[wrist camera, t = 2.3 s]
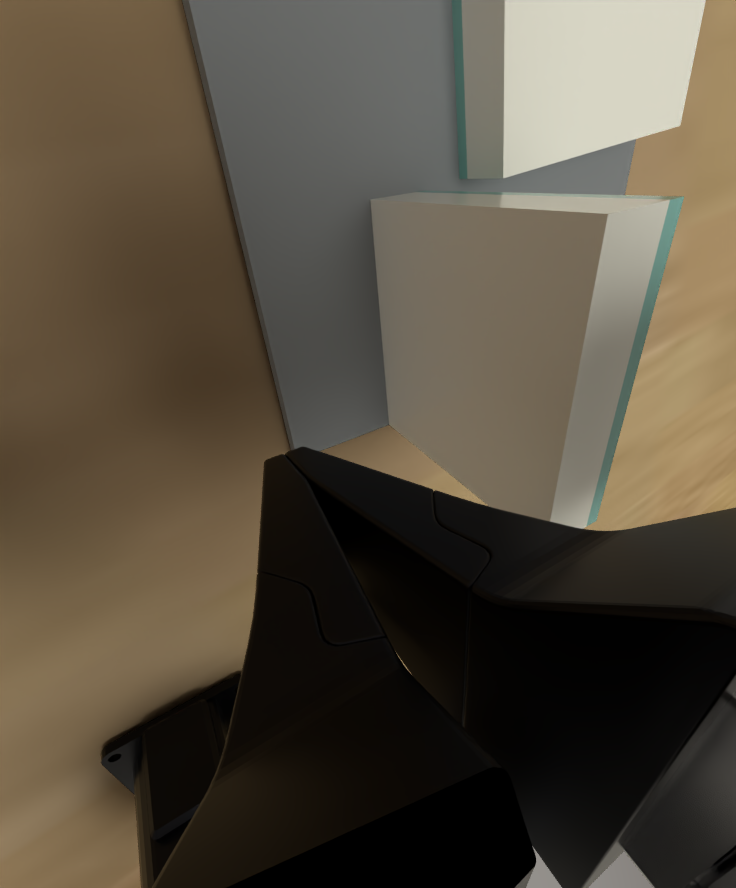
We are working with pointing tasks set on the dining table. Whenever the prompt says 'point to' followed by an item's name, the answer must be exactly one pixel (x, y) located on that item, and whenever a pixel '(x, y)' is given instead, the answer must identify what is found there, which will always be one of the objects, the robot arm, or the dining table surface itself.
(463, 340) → the tile
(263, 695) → the robot arm
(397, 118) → the mat
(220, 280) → the dining table surface
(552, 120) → the flat tile
